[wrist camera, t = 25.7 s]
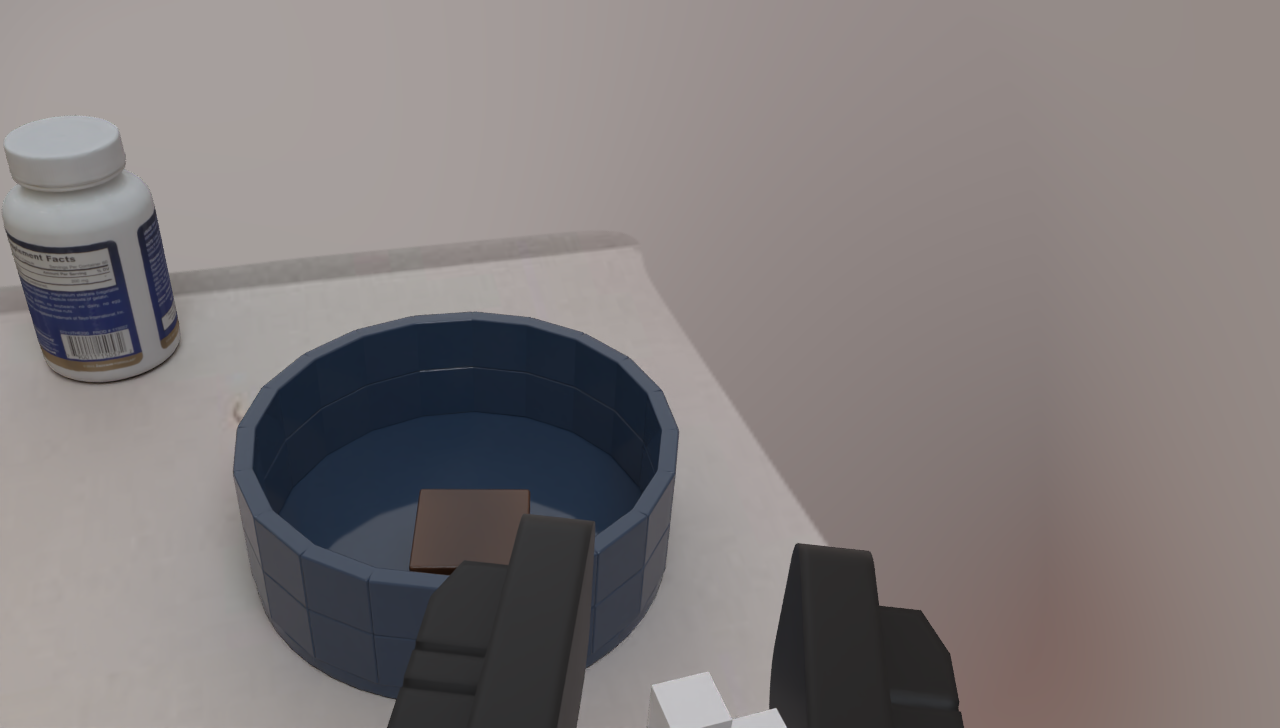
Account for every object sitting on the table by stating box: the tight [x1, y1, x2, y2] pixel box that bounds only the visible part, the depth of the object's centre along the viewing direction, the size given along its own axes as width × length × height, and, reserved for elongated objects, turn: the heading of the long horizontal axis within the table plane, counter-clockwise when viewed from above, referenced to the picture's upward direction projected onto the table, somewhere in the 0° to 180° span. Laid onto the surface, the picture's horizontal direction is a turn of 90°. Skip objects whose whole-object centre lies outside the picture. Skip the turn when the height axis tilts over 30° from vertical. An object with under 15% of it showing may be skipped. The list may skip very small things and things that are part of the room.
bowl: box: [233, 312, 679, 699], centre depth 38 cm, size 14×14×5 cm
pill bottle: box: [2, 115, 180, 382], centre depth 45 cm, size 5×5×10 cm
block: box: [409, 489, 530, 575], centre depth 35 cm, size 4×4×4 cm
